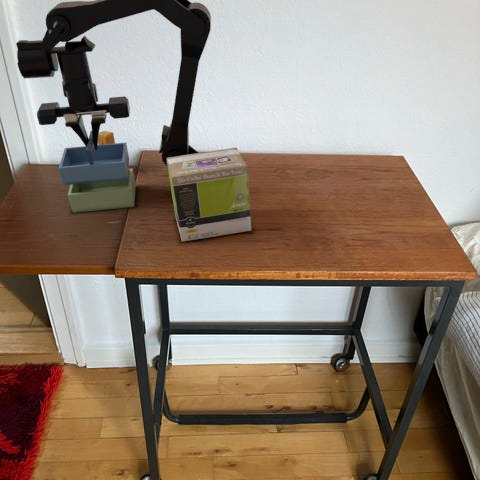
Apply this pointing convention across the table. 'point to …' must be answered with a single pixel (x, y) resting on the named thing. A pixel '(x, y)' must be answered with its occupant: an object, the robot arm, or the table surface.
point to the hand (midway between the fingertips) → (93, 149)
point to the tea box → (210, 193)
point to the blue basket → (94, 163)
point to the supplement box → (106, 138)
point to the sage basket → (103, 194)
